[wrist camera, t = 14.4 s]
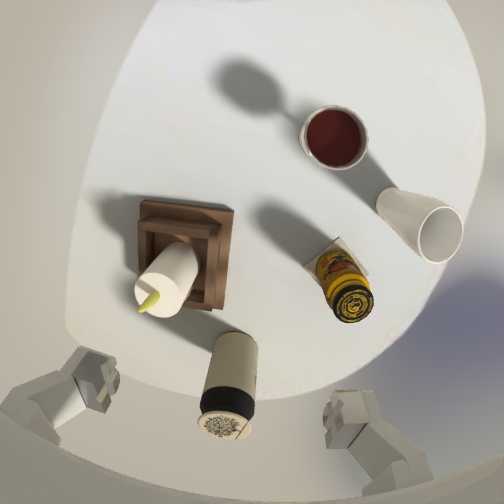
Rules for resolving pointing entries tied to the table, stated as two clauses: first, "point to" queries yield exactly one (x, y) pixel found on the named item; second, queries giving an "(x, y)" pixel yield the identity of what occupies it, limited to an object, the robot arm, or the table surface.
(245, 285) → the table surface
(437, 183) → the table surface
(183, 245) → the candle
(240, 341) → the travel mug
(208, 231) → the candle holder
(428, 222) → the drinking glass
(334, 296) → the condiment
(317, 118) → the wineglass
